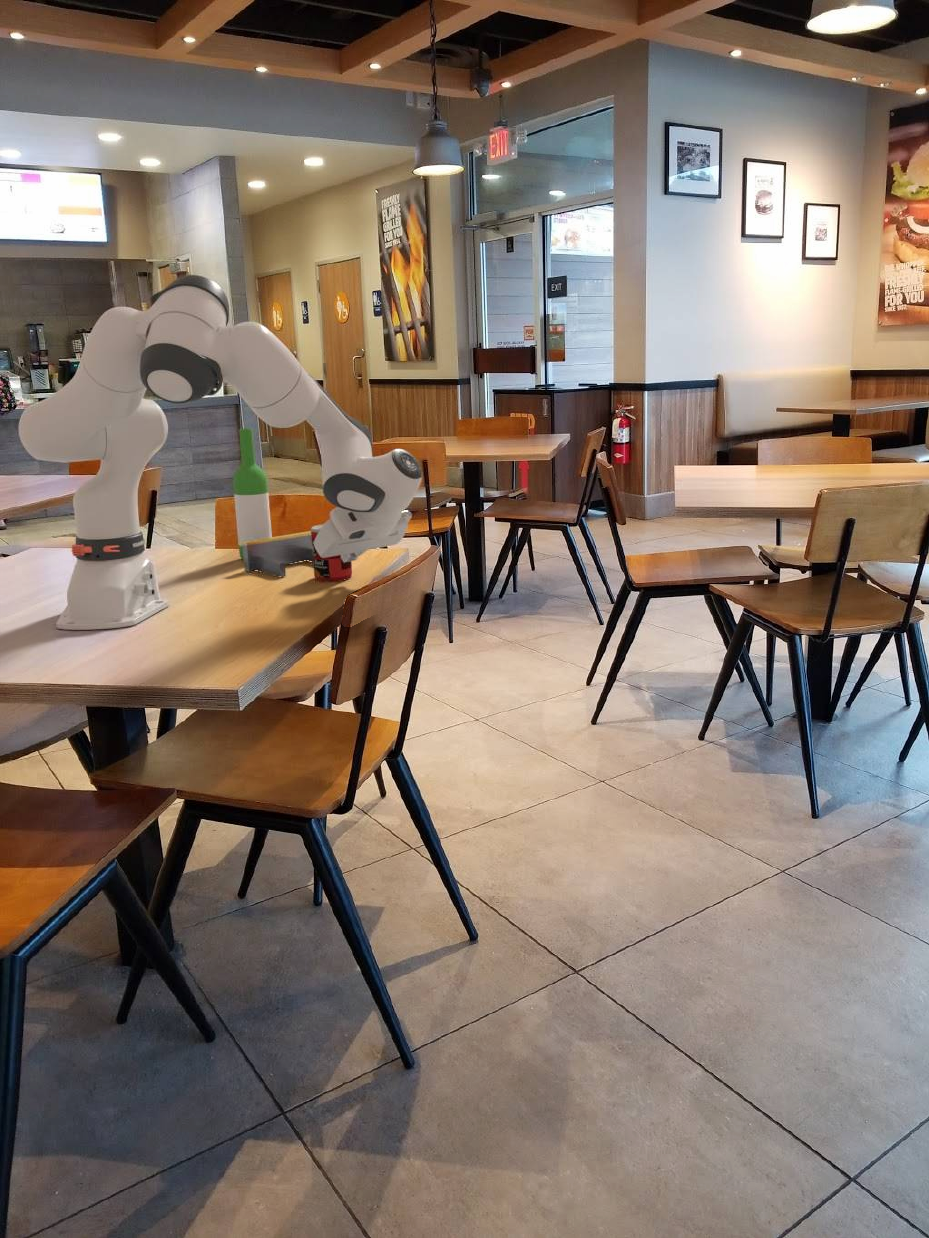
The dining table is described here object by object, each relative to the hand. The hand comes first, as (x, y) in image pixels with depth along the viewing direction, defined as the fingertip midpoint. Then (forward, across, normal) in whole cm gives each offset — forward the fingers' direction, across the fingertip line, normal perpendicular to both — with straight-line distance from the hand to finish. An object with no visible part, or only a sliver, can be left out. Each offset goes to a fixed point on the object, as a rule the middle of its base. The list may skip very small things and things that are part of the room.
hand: (347, 559), depth 197 cm
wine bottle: (+30, 0, -22) cm, 37 cm away
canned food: (+8, 0, 0) cm, 8 cm away
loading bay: (+18, 0, -11) cm, 21 cm away
